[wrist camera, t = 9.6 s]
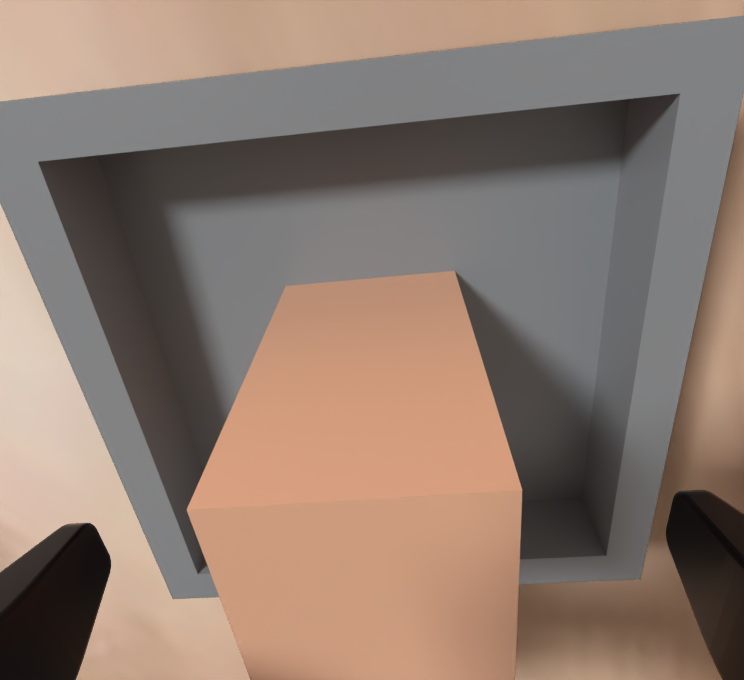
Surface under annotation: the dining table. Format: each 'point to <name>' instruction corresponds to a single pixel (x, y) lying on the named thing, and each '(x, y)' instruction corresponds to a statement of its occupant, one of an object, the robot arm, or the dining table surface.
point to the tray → (395, 252)
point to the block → (366, 492)
